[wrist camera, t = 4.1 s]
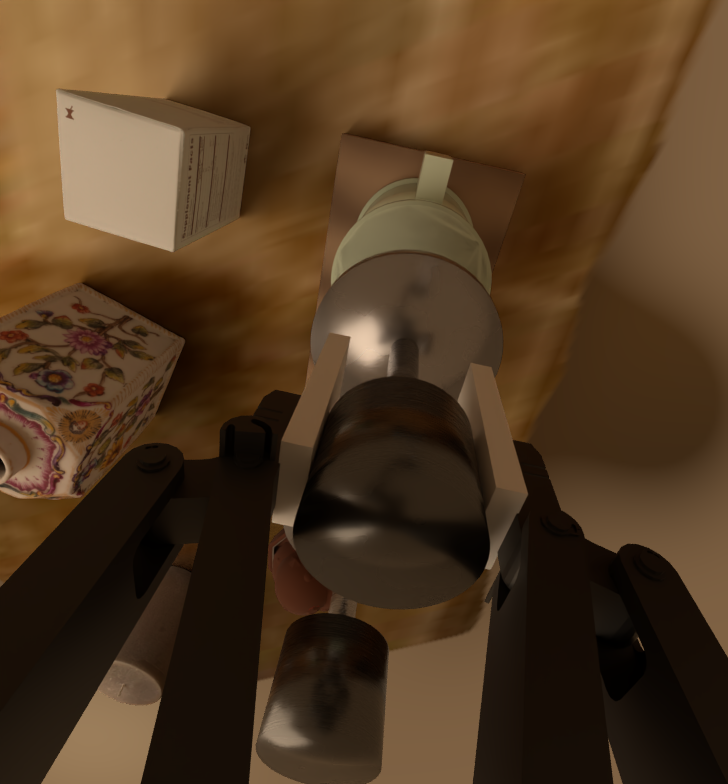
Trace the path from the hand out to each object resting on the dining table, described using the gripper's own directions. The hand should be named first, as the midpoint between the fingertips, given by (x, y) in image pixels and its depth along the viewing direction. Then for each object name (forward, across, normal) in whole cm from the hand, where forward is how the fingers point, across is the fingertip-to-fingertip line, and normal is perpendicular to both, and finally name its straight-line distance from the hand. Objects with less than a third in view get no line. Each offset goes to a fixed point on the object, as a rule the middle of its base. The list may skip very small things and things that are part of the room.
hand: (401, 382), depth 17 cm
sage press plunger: (+4, 0, 0) cm, 4 cm away
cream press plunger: (+4, 0, -11) cm, 12 cm away
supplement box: (+26, -18, +2) cm, 32 cm away
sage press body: (+24, 0, 0) cm, 24 cm away
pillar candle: (+26, -22, -55) cm, 65 cm away
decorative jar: (+26, -27, -18) cm, 41 cm away
